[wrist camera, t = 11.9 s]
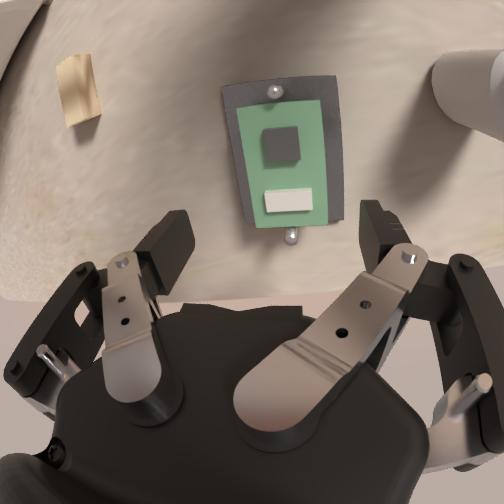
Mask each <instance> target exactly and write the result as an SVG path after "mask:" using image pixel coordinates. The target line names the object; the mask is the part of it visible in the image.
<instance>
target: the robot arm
mask: <svg viewBox="0 0 504 504" xmlns="http://www.w3.org/2000/svg"><path fill="white" fill-rule="evenodd" d="M359 244H360V248H361V252H362V256H363V260H364V264H365V268H366V271H363V272H361V273H360V274H359V275H358V276H357V277H356V279H355V280H354V281H353V282H352V283H351V284H350V285H349V286H348V287H347V288H346V289H345V290H344V292H343V293H342V294H341V295H340V296H339V297H338V298H337V299H336V300H335V301H334V302H333V303H332V304H331V305H330V306H329V307H328V308H327V309H326V310H325V311H324V312H323V313H322V314H321V315H320V316H319V318H317V319H315V318H312V317H308V316H304V315H303V313H302V306H267V307H262V308H256V309H250V310H244V311H233V310H230V309H226V308H222V307H218V306H214V305H210V304H189V303H184V304H183V306H182V308H181V310H180V312H176V313H172V314H169V315H166V316H163V315H162V312H161V309H160V306H159V303H158V301H157V299H156V296H157V295H169V293H170V291H171V290H172V288H173V286H174V284H175V282H176V281H177V279H178V277H179V275H180V273H181V272H182V270H183V268H184V266H185V265H186V263H187V261H188V259H189V258H190V256H191V254H192V252H193V251H194V248H195V238H194V234H193V231H192V227H191V224H190V220H189V217H188V214H187V212H186V210H174V211H169V212H168V213H167V214H166V216H165V217H164V218H163V219H162V220H161V221H160V222H159V223H158V224H157V225H155V226H154V227H153V228H152V229H151V230H150V231H149V232H148V234H147V235H146V236H145V237H144V239H142V240H141V242H140V243H139V244H138V245H137V246H136V248H135V249H134V250H133V251H132V252H131V251H129V252H124V253H121V254H119V255H117V256H115V257H114V258H113V259H112V260H111V261H110V262H109V263H108V266H107V268H106V269H102V270H98V271H97V269H96V267H95V265H94V263H93V262H85V263H82V264H80V265H78V266H77V267H76V268H74V269H73V270H72V271H71V273H70V274H69V275H68V276H67V277H66V279H65V280H64V281H63V282H62V284H61V285H60V286H59V288H58V289H57V290H56V291H55V293H54V294H53V295H52V297H51V298H50V299H49V301H48V302H47V303H46V305H45V306H44V307H43V309H42V310H41V312H40V313H39V315H38V316H37V317H36V319H35V320H34V321H33V323H32V324H31V326H30V327H29V329H28V330H27V332H26V334H25V335H24V336H23V338H22V340H21V341H20V343H19V344H18V346H17V347H16V349H15V351H14V352H13V354H12V356H11V357H10V359H9V361H8V362H7V364H6V367H5V369H4V379H5V381H6V382H7V383H8V384H9V385H10V386H11V387H12V388H13V389H14V390H16V391H17V392H18V393H19V395H20V396H21V397H22V398H23V399H25V400H26V401H27V402H28V403H29V404H31V405H32V406H33V407H34V408H36V409H37V410H38V411H40V412H42V413H43V414H44V415H46V416H47V417H49V418H50V419H51V420H53V421H55V423H54V429H53V433H52V438H51V441H50V443H49V445H48V447H47V448H46V449H45V450H44V451H42V452H41V453H38V454H35V455H29V454H24V453H13V454H8V455H6V456H4V457H2V458H1V459H0V504H408V503H409V500H410V498H411V495H412V493H413V490H414V488H415V486H416V484H417V482H418V480H419V478H420V476H421V474H425V473H430V472H435V471H440V470H444V469H448V468H454V469H455V470H457V471H460V472H466V471H469V470H472V469H474V468H476V467H478V466H480V465H482V464H484V463H486V462H488V461H489V460H491V459H493V458H495V457H497V456H498V455H500V454H502V453H504V308H503V306H502V304H501V302H500V300H499V298H498V296H497V294H496V292H495V290H494V288H493V286H492V284H491V283H490V280H489V279H488V277H487V275H486V273H485V271H484V270H483V268H482V266H481V265H480V263H479V262H478V261H477V260H476V259H474V258H473V257H471V256H469V255H465V254H455V255H453V256H451V257H450V260H449V263H448V265H447V264H442V263H437V262H433V261H430V260H428V255H427V253H426V251H425V250H424V249H422V248H421V247H419V246H417V245H414V244H412V243H411V241H410V239H409V237H408V235H407V233H406V232H405V230H404V228H403V226H402V224H401V223H400V221H399V219H398V217H397V216H396V215H394V214H393V213H392V212H390V211H383V209H382V207H381V205H380V203H379V201H378V200H361V202H360V220H359ZM82 300H83V302H84V303H85V305H86V306H87V308H88V310H89V311H90V312H89V314H88V315H87V317H86V319H85V320H84V322H83V323H82V325H81V327H80V326H79V325H78V324H77V322H76V320H75V317H74V313H75V310H76V308H77V307H78V305H79V304H80V302H81V301H82ZM411 317H412V318H417V319H422V320H428V321H430V325H431V329H432V333H433V337H434V342H435V346H436V351H437V356H438V361H439V366H440V371H441V377H442V383H443V390H444V395H443V397H442V398H441V399H440V400H439V401H438V402H437V404H436V406H435V408H434V411H433V421H432V425H431V427H430V428H426V425H425V423H424V421H423V420H422V418H421V417H420V416H419V414H418V413H417V412H416V411H415V410H414V409H413V408H412V407H411V406H409V404H408V403H407V402H406V401H405V400H404V399H403V398H402V397H401V396H400V395H399V394H398V393H397V392H396V391H395V390H394V389H393V388H392V387H391V386H390V385H389V384H388V383H387V382H386V381H385V380H384V379H383V378H382V377H381V376H380V375H379V374H378V372H379V371H380V369H381V367H382V366H383V364H384V362H385V360H386V358H387V356H388V354H389V353H390V351H391V349H392V348H393V346H394V345H395V343H396V341H397V340H398V338H399V336H400V335H401V333H402V332H403V330H404V328H405V326H406V325H407V323H408V321H409V320H410V318H411ZM104 340H105V346H106V347H105V349H104V350H103V351H102V357H100V358H99V359H98V360H96V361H94V359H95V357H96V355H97V353H98V351H99V349H100V347H101V345H102V344H103V342H104ZM93 361H94V362H93Z"/></svg>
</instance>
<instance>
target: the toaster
mask: <svg viewBox="0 0 504 504" xmlns="http://www.w3.org/2000/svg"><path fill="white" fill-rule="evenodd" d="M52 1H53V0H0V81H1V78H2V76H3V74H4V71H5V69H6V67H7V65H8V63H9V61H10V58H11V56H12V54H13V52H14V50H15V49H16V47H17V45H18V43H19V41H20V39H21V37H22V36H23V34H24V32H25V30H26V29H27V27H28V25H29V24H30V22H31V20H32V19H33V17H34V16H35V14H36V13H37V11H38V10H39V8H40V7H41V5H42V4H43V3H44V5H49V4H50V3H51V2H52Z"/></svg>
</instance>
